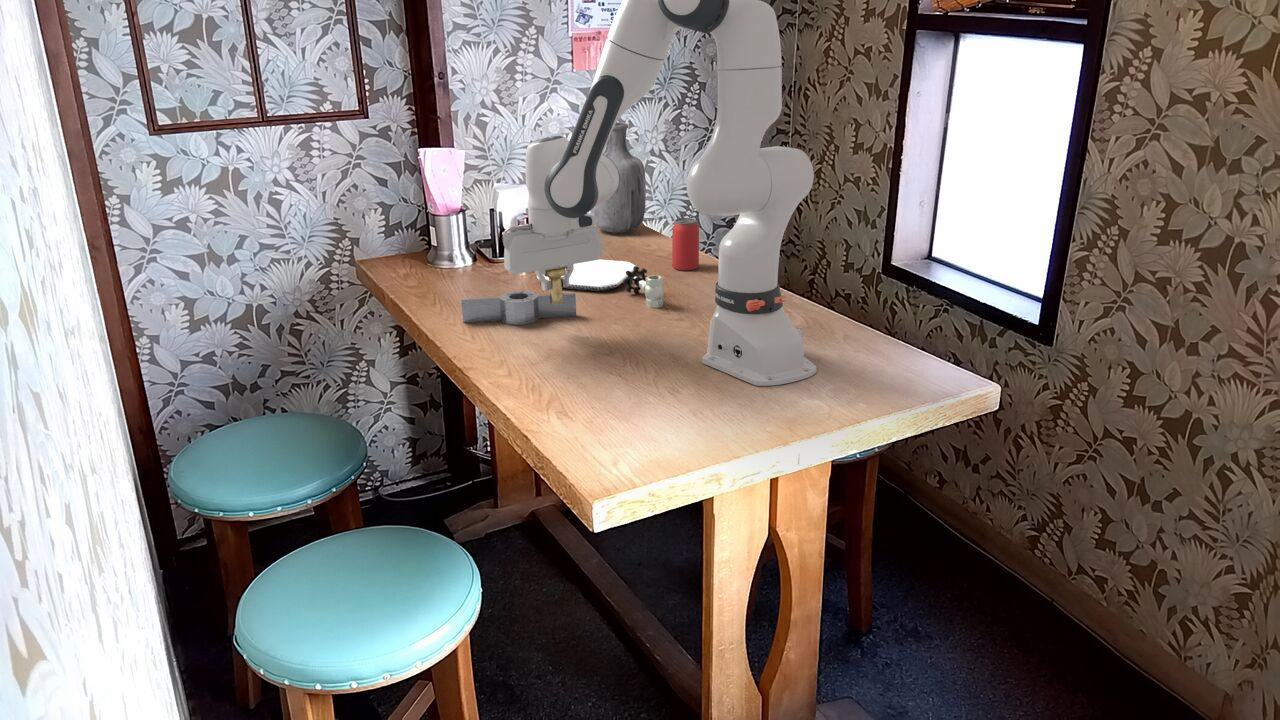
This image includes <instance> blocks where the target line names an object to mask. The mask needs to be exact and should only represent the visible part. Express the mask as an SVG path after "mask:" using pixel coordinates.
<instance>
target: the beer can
mask: <svg viewBox="0 0 1280 720" xmlns="http://www.w3.org/2000/svg"><path fill="white" fill-rule="evenodd" d="M671 232H672V233H671V235H672V236H671V237H672V238H671V239H672V243H671V244H672V245H671V246H672V247H671V251H672V255H671V258H672V259H671V262H672V263H671V265H672V267H673V269H675V270H677V271H684V272H688V271H694V270H697V268H698V267H699V263H700V262H699V261H700V260H699V259H700V253H699V252H700V226H699V224H698V220H697V218H696V219H695V218H690V217H681V218H676V219H674V224H673V226H672V231H671Z"/></svg>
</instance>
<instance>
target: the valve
mask: <svg viewBox="0 0 1280 720" xmlns="http://www.w3.org/2000/svg"><path fill="white" fill-rule="evenodd" d="M633 270H634V271H633V272H630V271H626V275H627V276H628V278H626V279H624V280H623V281H622V284H623V285H625V286H627V287H626V288H625V291H626V293H627V292H628V293H630V294H631V292H632V290H633V294H635V295H639V294H640V290H641V292H642V293H643V294H644V295H645V306H646V307H648V308H649V309H659V308H662V307H663V306H664V298H663V297H664V294H665V290H664V278H663V277H662V276H661V275H657V274H656V275H655V274H652V275H646V274H647V272H648V271H647V269H646V268H644V267H643V268H641V269H640V267H639V266H638V265H635V266H634V267H633ZM636 274H639V275H641V277H640V276H634V275H636ZM633 276H634V277H633ZM631 281H632V283H633V284H634V286H632V284H631Z"/></svg>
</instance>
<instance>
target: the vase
mask: <svg viewBox="0 0 1280 720" xmlns="http://www.w3.org/2000/svg"><path fill="white" fill-rule="evenodd" d="M628 129H629V123H628V122H622V121H621V122H620V121H617V123H616V124H615V126H614V128H613V130H612V132H611V135H610V137H609V140H608V142H607V145H606V147H605V150H604V152H603V154H602V155H604V156H606V157H608V158H609V159H611V160H612V161H613V163H614V164H615V165H616V167H617V169H618V173H619V186H618V189H617V191H616V192H615V194H614V195H613V196H611V197H610V198H609V199H608V200H606V201H604V202H603V203H601V204H600V205H598V206H596V207H594V208H593V209H592V210H590V211H589V213H590V214H592V215H594V216H595V217H596V218H597V224H596V226H595V227H596V228H597V229H600V230H602V231H605V232H608V233H614V234H615V233H616V234H618V233H620V234H621V233H627V232H631V231H633V230H635V229H636V228H638V227H639V226H640V225H641V224H642V223H643V221H644V218H645V215H646V214H645V213H646V212H645V211H646V201H647V200H646V199H647V198H646V196H647V194H646V193H647V189H646V187H647V185H646V181H647V180H646V179H647V178H646V171H645V165H644V163H643V161H642V160H641V159H640V158H639V157H637V156H634V155H633V154H632V153H631V152H630V151H629V149H628V146H627V130H628Z"/></svg>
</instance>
